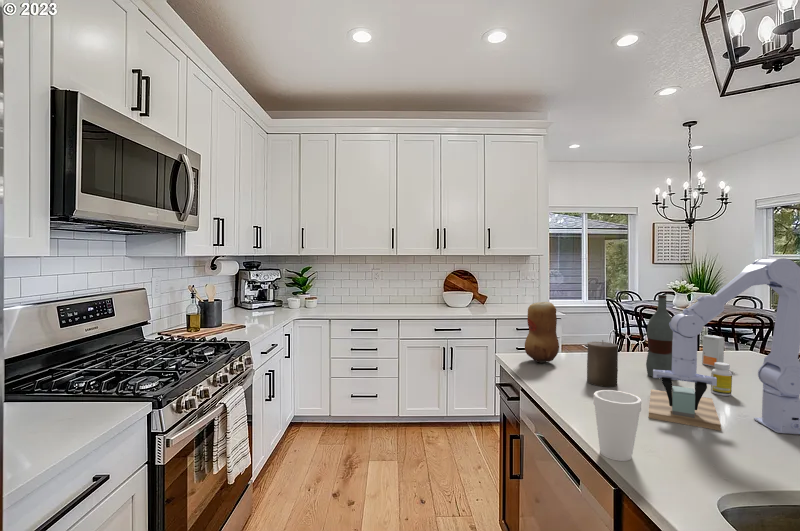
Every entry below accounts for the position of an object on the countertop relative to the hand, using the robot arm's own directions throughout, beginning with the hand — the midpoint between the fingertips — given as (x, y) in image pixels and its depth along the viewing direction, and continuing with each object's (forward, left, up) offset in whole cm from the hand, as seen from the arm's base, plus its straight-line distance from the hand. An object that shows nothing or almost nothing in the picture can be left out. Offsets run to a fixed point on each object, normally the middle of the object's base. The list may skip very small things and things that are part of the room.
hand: (682, 407), depth 119 cm
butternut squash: (+56, +29, -3) cm, 63 cm away
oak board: (+6, -2, -3) cm, 7 cm away
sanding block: (0, 0, -1) cm, 1 cm away
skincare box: (+64, -39, -3) cm, 75 cm away
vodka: (+43, -11, -3) cm, 45 cm away
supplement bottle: (+25, -22, -3) cm, 34 cm away
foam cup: (-27, +26, -3) cm, 37 cm away
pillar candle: (+30, +13, -3) cm, 33 cm away
